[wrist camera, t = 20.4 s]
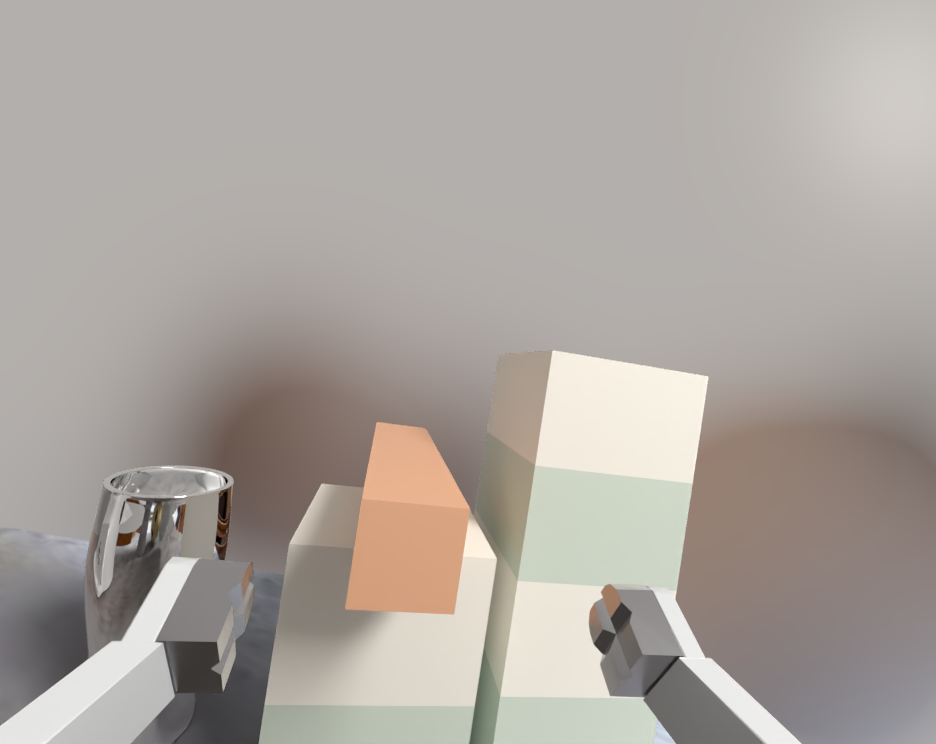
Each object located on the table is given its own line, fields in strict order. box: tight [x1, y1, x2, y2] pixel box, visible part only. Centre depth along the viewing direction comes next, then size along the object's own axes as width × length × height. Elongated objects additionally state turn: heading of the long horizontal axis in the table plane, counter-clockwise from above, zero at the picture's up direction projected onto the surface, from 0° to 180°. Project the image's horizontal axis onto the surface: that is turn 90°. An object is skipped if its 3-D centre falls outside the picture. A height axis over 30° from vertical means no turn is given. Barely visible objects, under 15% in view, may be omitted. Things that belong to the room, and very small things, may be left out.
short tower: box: [259, 484, 497, 744], centre depth 26 cm, size 10×10×15 cm
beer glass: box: [84, 466, 234, 744], centre depth 26 cm, size 7×7×15 cm
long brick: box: [345, 422, 470, 615], centre depth 26 cm, size 20×4×4 cm, turn 11°
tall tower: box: [469, 350, 708, 744], centre depth 31 cm, size 12×10×26 cm
